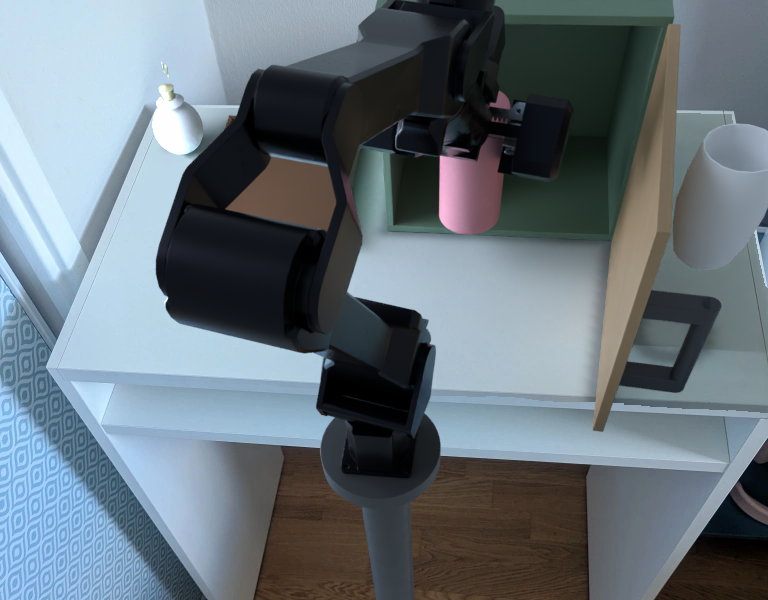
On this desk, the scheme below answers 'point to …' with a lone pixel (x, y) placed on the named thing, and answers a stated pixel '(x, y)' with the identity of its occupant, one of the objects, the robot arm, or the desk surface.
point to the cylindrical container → (473, 186)
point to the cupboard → (589, 126)
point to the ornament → (176, 122)
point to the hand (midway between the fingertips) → (475, 146)
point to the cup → (722, 196)
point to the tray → (291, 192)
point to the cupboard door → (648, 256)
